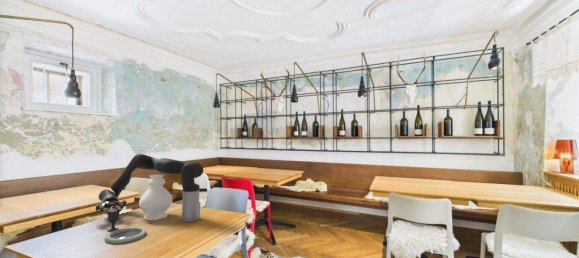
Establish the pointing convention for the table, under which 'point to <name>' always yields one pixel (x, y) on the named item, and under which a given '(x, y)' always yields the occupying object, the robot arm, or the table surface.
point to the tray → (125, 235)
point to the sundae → (113, 216)
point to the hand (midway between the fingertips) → (112, 208)
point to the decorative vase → (155, 199)
